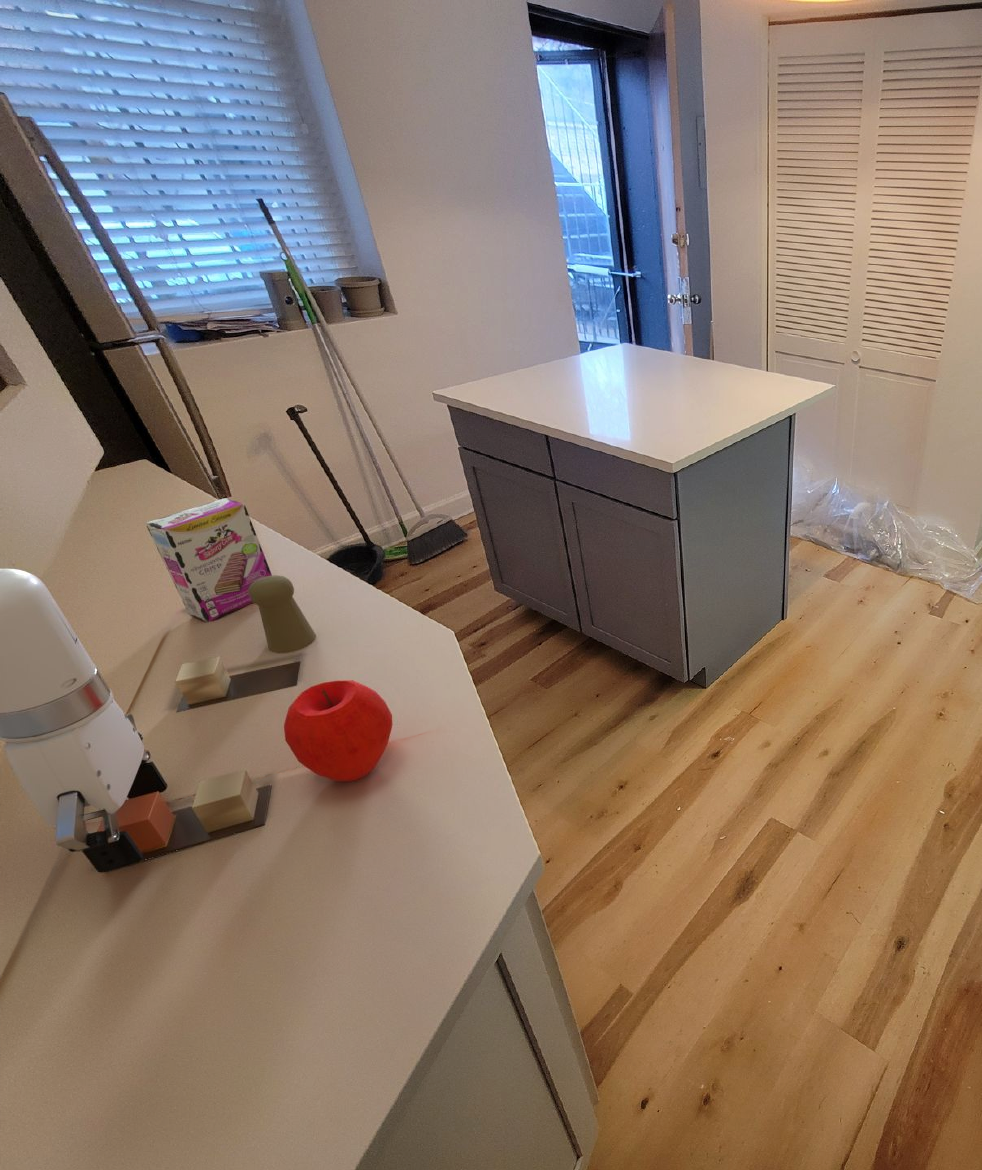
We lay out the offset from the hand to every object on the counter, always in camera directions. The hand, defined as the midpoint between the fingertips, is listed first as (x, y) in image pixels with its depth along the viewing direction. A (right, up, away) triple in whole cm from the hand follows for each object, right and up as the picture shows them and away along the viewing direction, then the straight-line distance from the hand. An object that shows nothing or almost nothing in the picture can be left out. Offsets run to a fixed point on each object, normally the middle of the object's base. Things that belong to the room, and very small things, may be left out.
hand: (136, 827), depth 66 cm
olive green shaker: (-7, +16, +31) cm, 36 cm away
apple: (+16, +3, +11) cm, 19 cm away
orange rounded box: (0, -1, +1) cm, 2 cm away
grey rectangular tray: (-7, +11, +22) cm, 26 cm away
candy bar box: (-23, +22, +39) cm, 50 cm away
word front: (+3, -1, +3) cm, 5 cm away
